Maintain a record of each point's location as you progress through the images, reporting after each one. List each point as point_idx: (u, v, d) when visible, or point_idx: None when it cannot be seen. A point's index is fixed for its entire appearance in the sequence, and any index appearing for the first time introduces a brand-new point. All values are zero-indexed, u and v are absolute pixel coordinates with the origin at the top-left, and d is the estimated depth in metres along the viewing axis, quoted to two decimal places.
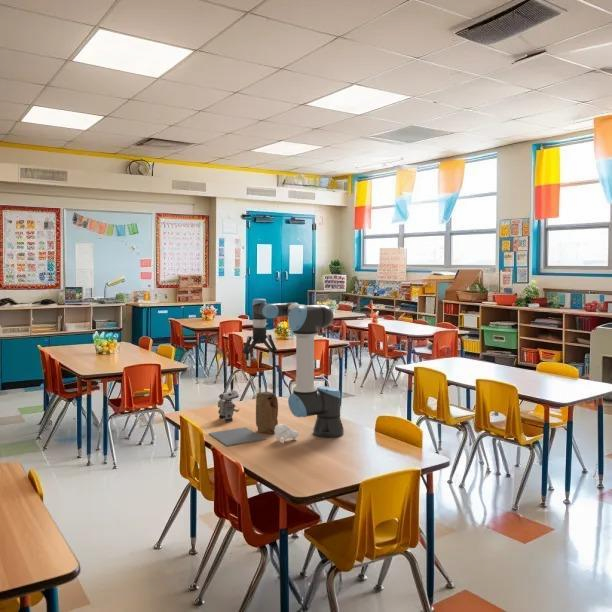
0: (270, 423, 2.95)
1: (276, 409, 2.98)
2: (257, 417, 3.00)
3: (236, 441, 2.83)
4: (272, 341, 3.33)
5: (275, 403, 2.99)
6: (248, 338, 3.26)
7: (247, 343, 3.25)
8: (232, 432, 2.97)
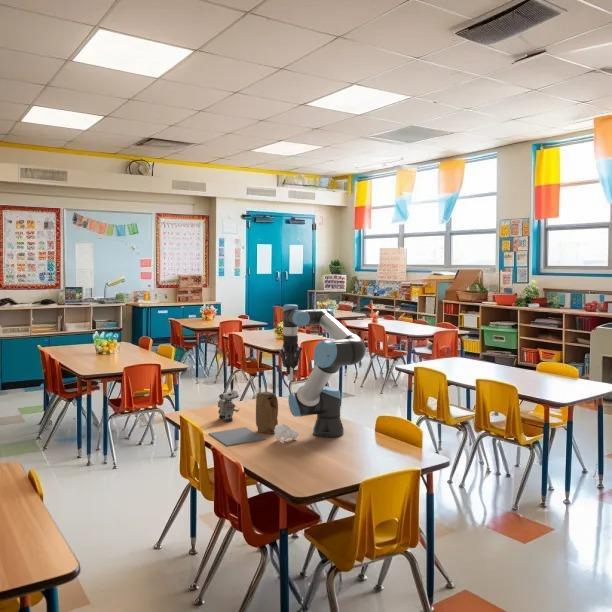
0: (270, 423, 2.95)
1: (276, 409, 2.98)
2: (257, 417, 3.00)
3: (236, 441, 2.83)
4: (299, 355, 3.06)
5: (275, 403, 2.99)
6: (280, 352, 3.02)
7: (282, 357, 3.02)
8: (232, 432, 2.97)
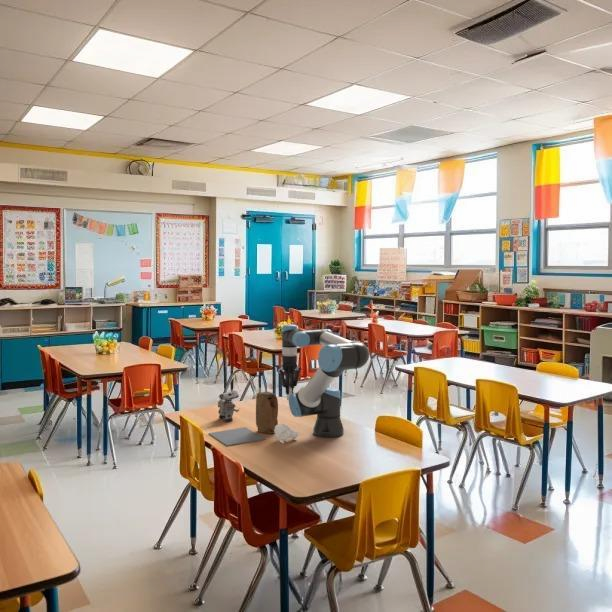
0: (270, 423, 2.95)
1: (276, 409, 2.98)
2: (257, 417, 3.00)
3: (236, 441, 2.83)
4: (298, 375, 3.07)
5: (275, 403, 2.99)
6: (279, 372, 3.02)
7: (281, 377, 3.02)
8: (232, 432, 2.97)
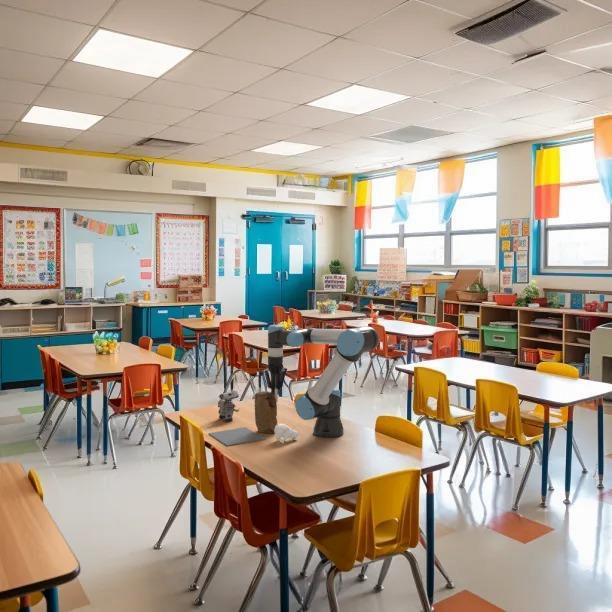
0: (269, 422, 2.95)
1: (275, 408, 2.98)
2: (256, 417, 2.99)
3: (236, 441, 2.83)
4: (284, 376, 3.03)
5: (274, 403, 2.98)
6: (265, 373, 2.98)
7: (267, 378, 2.98)
8: (232, 432, 2.97)
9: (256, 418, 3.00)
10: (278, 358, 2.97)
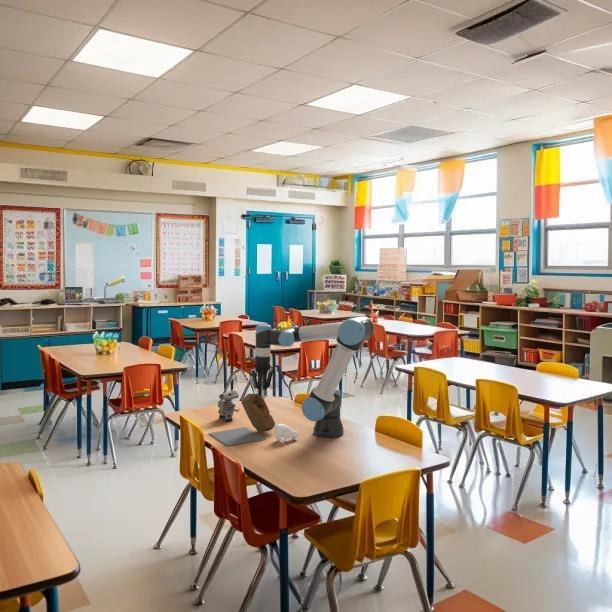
0: (265, 423, 2.94)
1: (265, 408, 2.94)
2: (251, 420, 2.97)
3: (236, 441, 2.83)
4: (271, 376, 2.99)
5: (262, 403, 2.94)
6: (251, 373, 2.94)
7: (254, 378, 2.95)
8: (232, 432, 2.97)
9: (251, 421, 2.98)
10: (265, 358, 2.94)
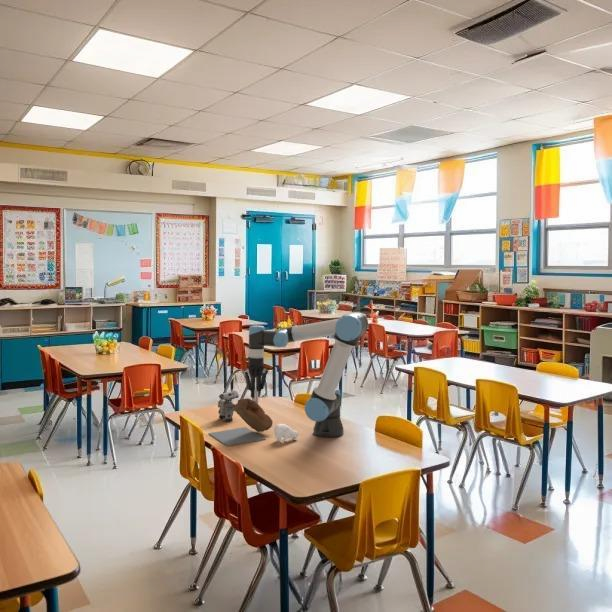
0: (263, 424, 2.93)
1: (259, 409, 2.92)
2: (248, 424, 2.96)
3: (236, 441, 2.83)
4: (265, 377, 2.97)
5: (255, 406, 2.91)
6: (245, 374, 2.92)
7: (247, 379, 2.92)
8: (232, 432, 2.97)
9: (249, 424, 2.96)
10: (259, 359, 2.91)
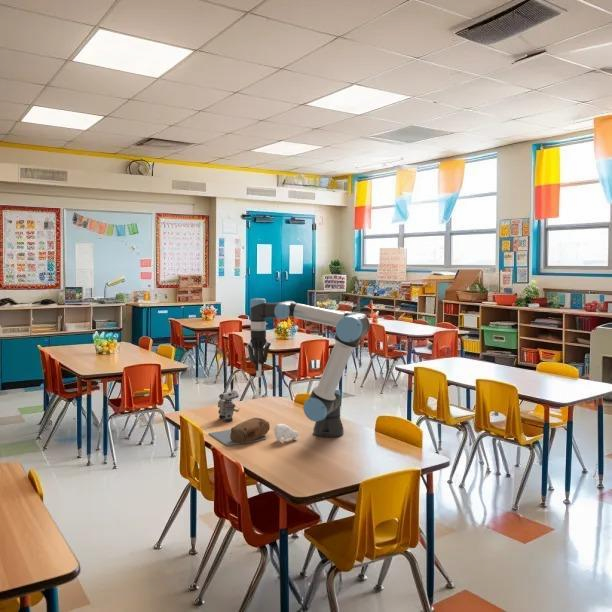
0: (262, 435, 2.90)
1: (256, 430, 2.85)
2: None
3: None
4: (267, 350, 2.97)
5: (251, 431, 2.83)
6: (248, 347, 2.92)
7: (250, 352, 2.92)
8: None
9: None
10: (261, 332, 2.91)
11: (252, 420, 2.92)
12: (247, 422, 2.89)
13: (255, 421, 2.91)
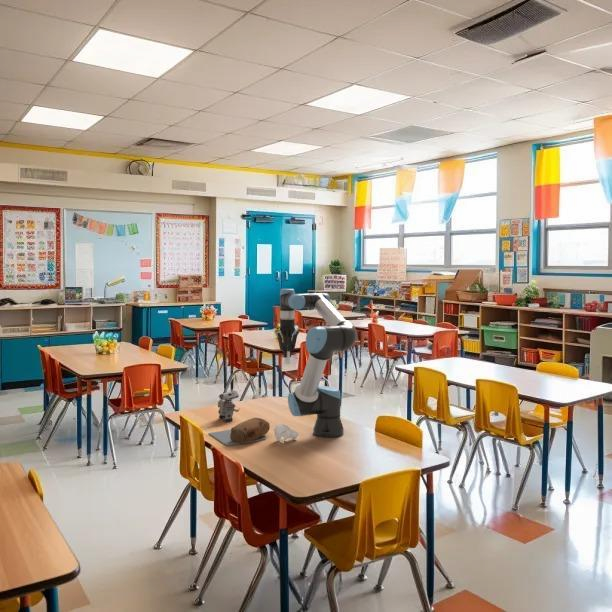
0: (262, 435, 2.90)
1: (256, 430, 2.85)
2: None
3: None
4: (296, 338, 3.11)
5: (251, 431, 2.83)
6: (277, 335, 3.07)
7: (279, 340, 3.07)
8: None
9: None
10: (290, 320, 3.06)
11: (252, 420, 2.92)
12: (247, 422, 2.89)
13: (255, 421, 2.91)
